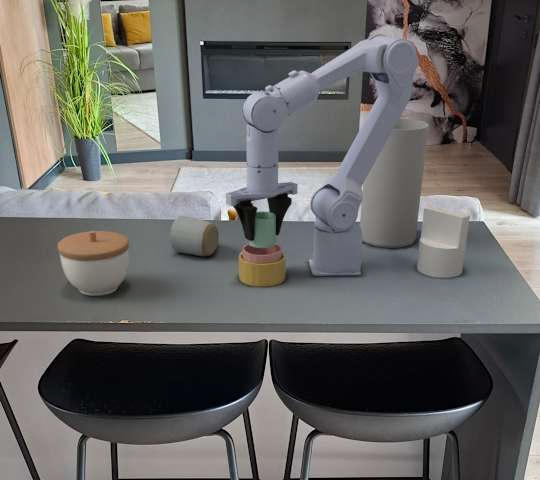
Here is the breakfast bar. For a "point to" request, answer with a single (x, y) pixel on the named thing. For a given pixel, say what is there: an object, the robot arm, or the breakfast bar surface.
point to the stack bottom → (262, 272)
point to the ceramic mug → (193, 236)
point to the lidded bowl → (95, 261)
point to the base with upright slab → (442, 242)
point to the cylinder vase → (395, 188)
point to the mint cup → (264, 230)
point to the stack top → (262, 254)
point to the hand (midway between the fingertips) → (262, 236)
